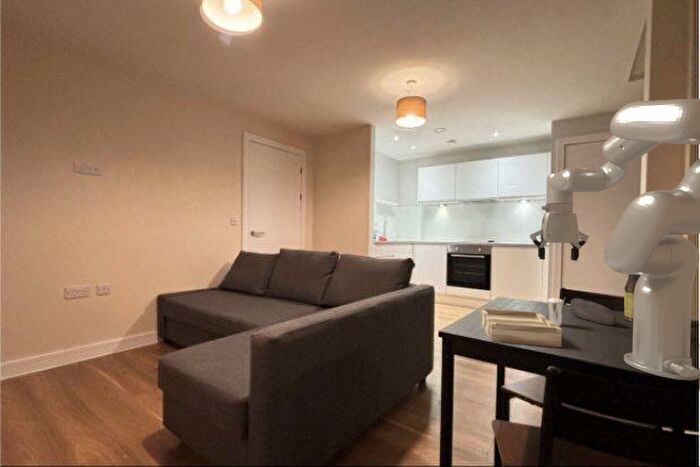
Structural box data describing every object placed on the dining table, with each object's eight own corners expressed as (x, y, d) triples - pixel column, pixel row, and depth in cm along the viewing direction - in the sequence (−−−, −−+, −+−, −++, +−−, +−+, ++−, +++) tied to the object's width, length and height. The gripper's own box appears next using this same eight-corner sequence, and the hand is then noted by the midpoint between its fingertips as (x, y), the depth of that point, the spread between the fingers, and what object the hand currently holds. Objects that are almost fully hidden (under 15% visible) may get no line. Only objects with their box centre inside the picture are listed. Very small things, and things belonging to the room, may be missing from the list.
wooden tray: (561, 348, 86) (561, 328, 85) (491, 342, 90) (491, 323, 90) (537, 328, 103) (538, 312, 103) (480, 324, 107) (480, 308, 107)
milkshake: (560, 328, 102) (561, 298, 102) (544, 323, 107) (545, 294, 107) (569, 326, 104) (569, 297, 104) (552, 322, 109) (553, 293, 109)
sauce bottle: (638, 319, 114) (639, 265, 113) (653, 324, 108) (654, 267, 107) (618, 318, 114) (620, 264, 114) (632, 323, 108) (634, 266, 108)
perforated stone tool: (621, 327, 104) (622, 307, 104) (609, 328, 103) (609, 307, 103) (579, 315, 118) (579, 297, 118) (568, 316, 117) (568, 297, 117)
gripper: (534, 208, 103) (533, 260, 103) (594, 208, 99) (593, 262, 99) (527, 210, 110) (526, 257, 111) (583, 210, 106) (581, 259, 107)
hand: (557, 259), depth 105 cm, fingers open, 9 cm apart
